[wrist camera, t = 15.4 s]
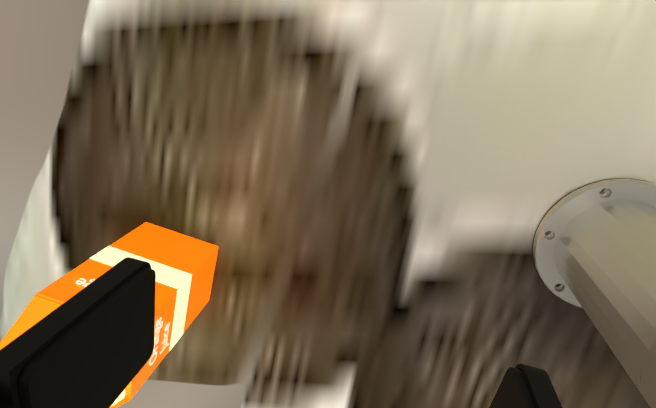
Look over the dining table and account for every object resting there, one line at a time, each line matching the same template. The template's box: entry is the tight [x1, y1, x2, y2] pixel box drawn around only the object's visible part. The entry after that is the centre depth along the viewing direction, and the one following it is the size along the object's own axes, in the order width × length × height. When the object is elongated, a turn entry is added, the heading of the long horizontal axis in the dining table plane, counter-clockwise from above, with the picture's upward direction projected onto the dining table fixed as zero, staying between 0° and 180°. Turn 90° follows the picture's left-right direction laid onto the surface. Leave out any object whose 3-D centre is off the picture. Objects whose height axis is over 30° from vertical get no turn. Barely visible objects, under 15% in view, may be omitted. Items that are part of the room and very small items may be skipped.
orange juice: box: [0, 222, 219, 408], centre depth 36 cm, size 8×9×20 cm
